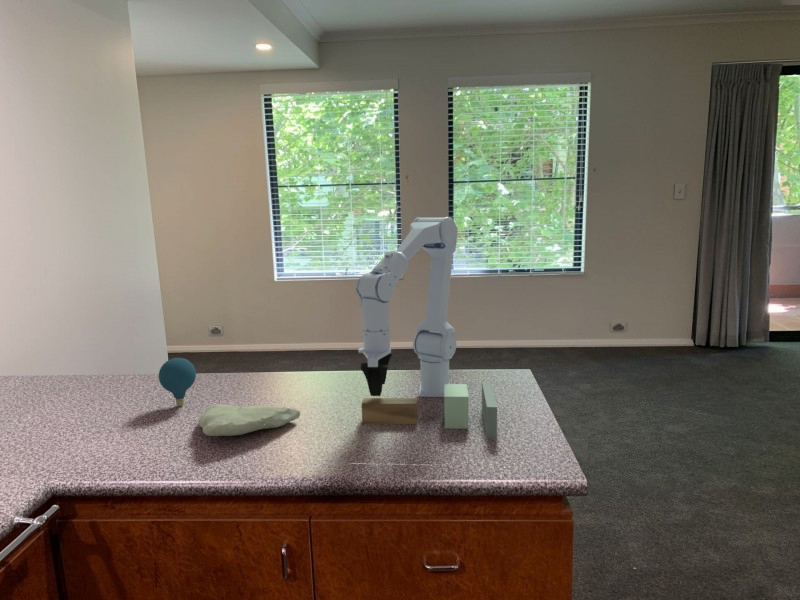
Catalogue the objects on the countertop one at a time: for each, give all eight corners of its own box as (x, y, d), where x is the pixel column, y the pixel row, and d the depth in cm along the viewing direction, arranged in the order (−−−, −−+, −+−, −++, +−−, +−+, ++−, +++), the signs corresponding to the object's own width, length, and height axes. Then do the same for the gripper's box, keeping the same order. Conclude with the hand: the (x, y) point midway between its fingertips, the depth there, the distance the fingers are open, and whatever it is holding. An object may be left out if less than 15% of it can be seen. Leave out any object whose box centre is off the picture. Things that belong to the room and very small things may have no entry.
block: (444, 414, 122) (444, 384, 121) (466, 414, 121) (466, 384, 120) (444, 428, 114) (444, 396, 113) (468, 428, 113) (468, 396, 112)
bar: (364, 418, 121) (363, 397, 120) (417, 419, 120) (417, 398, 119) (362, 425, 118) (361, 403, 117) (417, 425, 117) (416, 403, 116)
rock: (210, 421, 127) (154, 442, 107) (210, 396, 127) (155, 411, 107) (304, 428, 122) (264, 451, 102) (305, 401, 122) (265, 419, 102)
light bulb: (173, 414, 126) (168, 365, 123) (155, 407, 131) (150, 359, 128) (205, 404, 132) (201, 356, 130) (186, 397, 137) (182, 352, 135)
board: (481, 410, 124) (481, 381, 123) (490, 410, 124) (490, 381, 123) (486, 440, 108) (487, 407, 107) (496, 440, 108) (497, 407, 107)
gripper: (363, 322, 123) (364, 378, 125) (352, 337, 109) (354, 400, 111) (393, 321, 122) (395, 379, 125) (386, 337, 108) (388, 401, 110)
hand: (378, 389), depth 118 cm, fingers open, 7 cm apart
